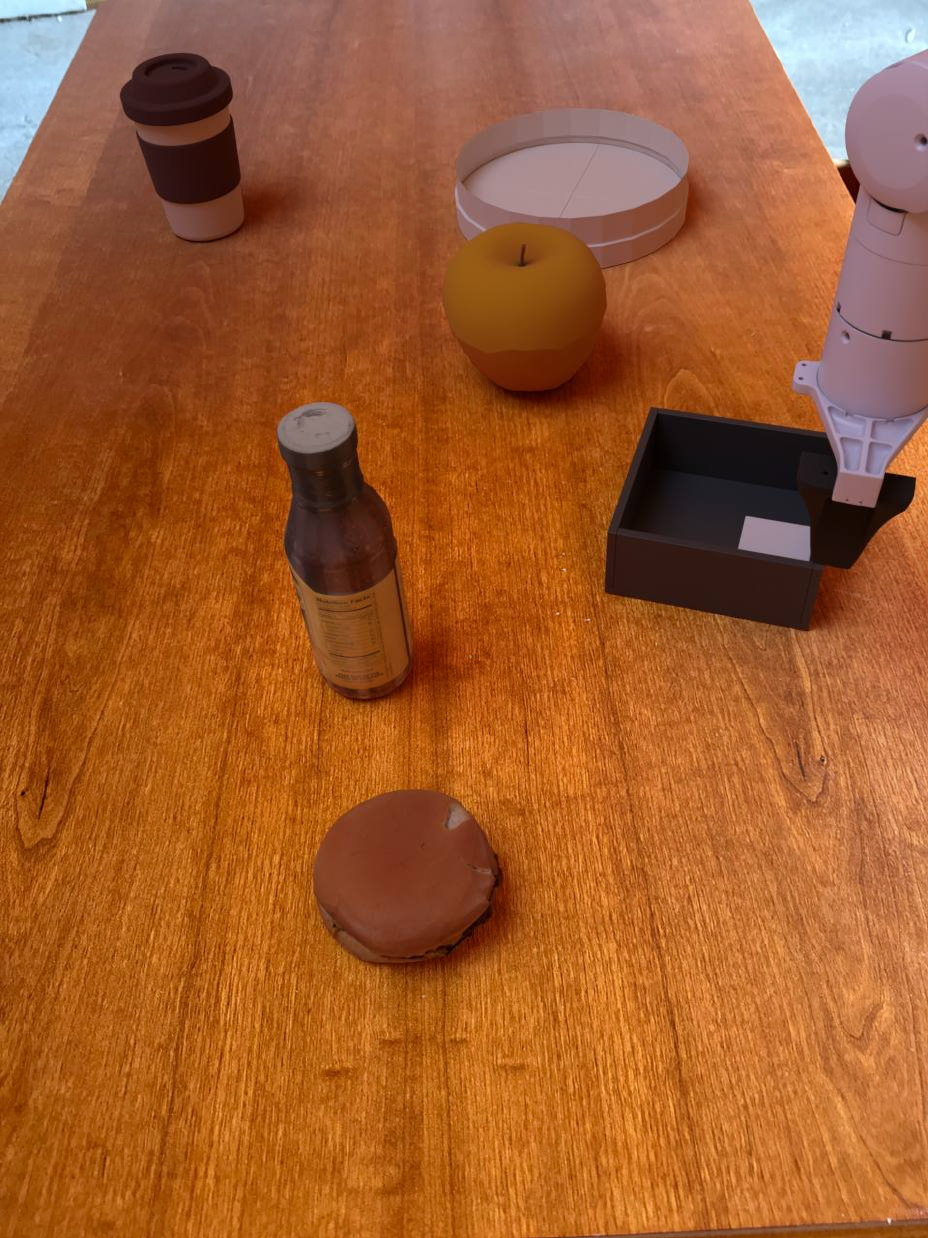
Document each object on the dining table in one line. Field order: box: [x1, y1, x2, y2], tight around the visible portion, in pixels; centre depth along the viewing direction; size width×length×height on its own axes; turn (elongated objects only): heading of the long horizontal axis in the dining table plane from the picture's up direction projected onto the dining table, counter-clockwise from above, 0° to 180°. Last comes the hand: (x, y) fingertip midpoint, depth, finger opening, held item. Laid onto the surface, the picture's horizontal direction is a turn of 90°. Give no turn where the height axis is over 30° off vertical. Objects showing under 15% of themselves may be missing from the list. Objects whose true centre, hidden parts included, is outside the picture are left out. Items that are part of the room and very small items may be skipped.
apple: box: [440, 222, 608, 392], centre depth 88 cm, size 13×13×11 cm
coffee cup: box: [119, 52, 245, 242], centre depth 106 cm, size 10×10×15 cm
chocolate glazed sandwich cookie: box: [312, 788, 504, 964], centre depth 60 cm, size 10×9×5 cm
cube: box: [738, 516, 811, 561], centre depth 73 cm, size 4×4×4 cm
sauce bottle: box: [276, 401, 414, 700], centre depth 65 cm, size 6×6×20 cm
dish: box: [453, 107, 690, 269], centre depth 108 cm, size 22×22×5 cm
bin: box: [604, 406, 828, 632], centre depth 76 cm, size 13×13×6 cm
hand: (839, 515), depth 64 cm, fingers open, 7 cm apart
